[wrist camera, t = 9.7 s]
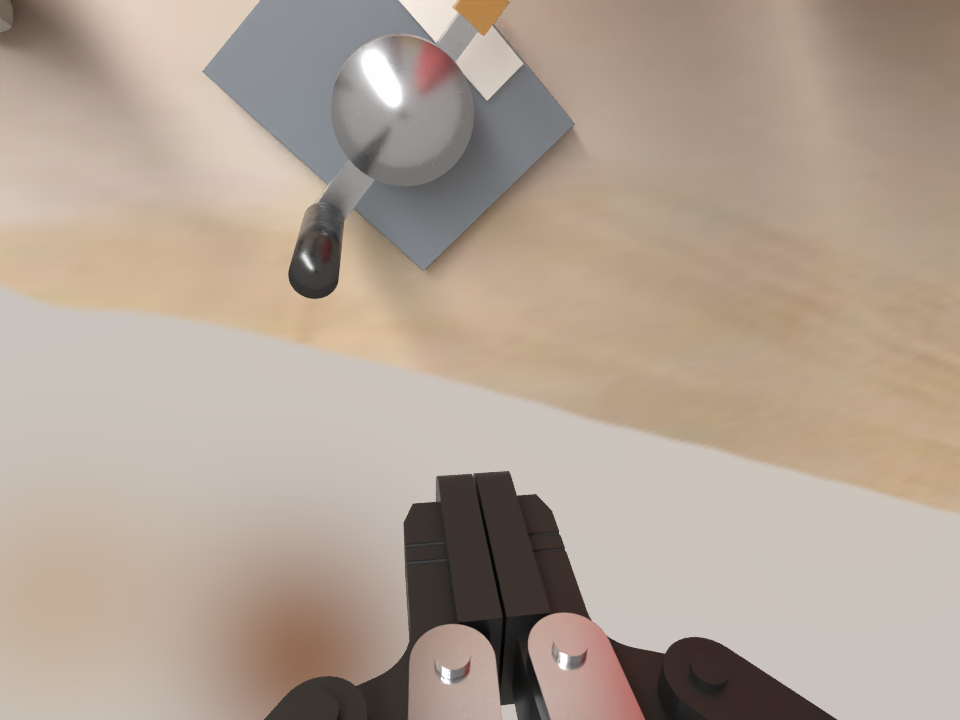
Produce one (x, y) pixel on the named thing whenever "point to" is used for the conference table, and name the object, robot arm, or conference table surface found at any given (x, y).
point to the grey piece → (390, 130)
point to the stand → (308, 92)
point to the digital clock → (6, 15)
